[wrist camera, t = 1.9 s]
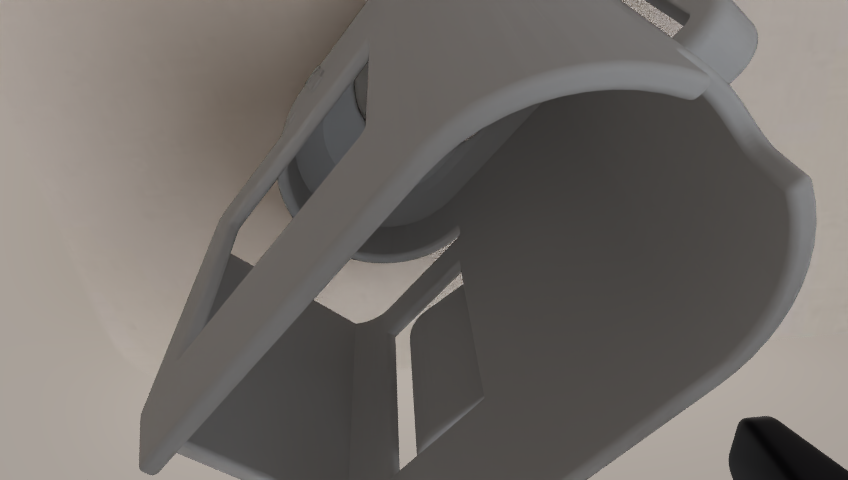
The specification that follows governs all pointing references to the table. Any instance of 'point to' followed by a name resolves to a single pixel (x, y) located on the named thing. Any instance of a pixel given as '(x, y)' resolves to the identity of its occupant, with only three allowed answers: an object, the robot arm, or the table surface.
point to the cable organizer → (494, 248)
